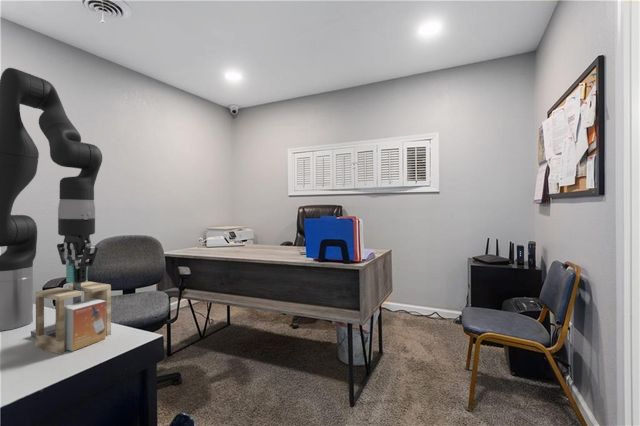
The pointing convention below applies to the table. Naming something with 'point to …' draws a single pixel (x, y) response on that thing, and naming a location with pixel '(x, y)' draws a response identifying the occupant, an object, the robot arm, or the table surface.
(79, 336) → the small box
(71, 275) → the slider
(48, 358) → the table surface
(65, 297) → the tunnel
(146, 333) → the table surface
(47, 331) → the tray
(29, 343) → the table surface
